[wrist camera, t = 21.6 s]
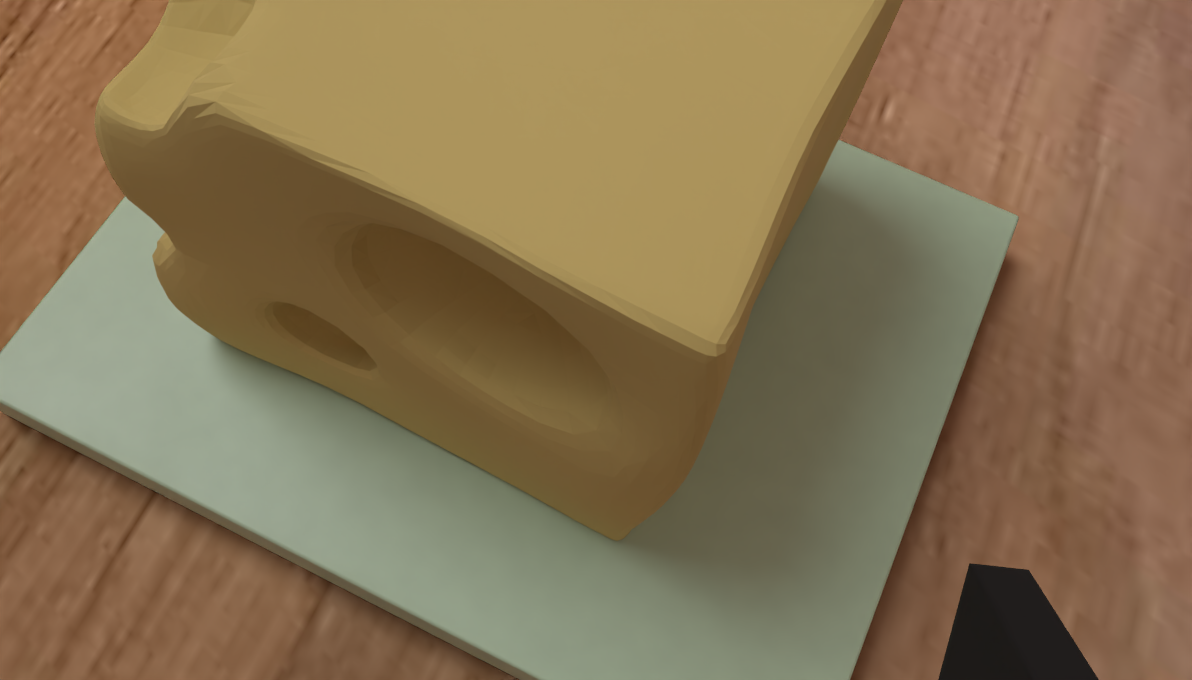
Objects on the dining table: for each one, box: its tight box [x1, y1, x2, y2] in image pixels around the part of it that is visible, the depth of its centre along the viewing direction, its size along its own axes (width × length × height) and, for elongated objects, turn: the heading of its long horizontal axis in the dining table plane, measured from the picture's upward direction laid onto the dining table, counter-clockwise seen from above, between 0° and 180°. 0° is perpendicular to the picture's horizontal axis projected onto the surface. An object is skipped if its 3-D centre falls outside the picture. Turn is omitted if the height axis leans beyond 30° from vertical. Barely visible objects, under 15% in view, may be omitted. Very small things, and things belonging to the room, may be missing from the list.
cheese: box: [95, 0, 903, 541], centre depth 19 cm, size 10×11×10 cm
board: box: [0, 140, 1018, 680], centre depth 24 cm, size 18×14×2 cm
